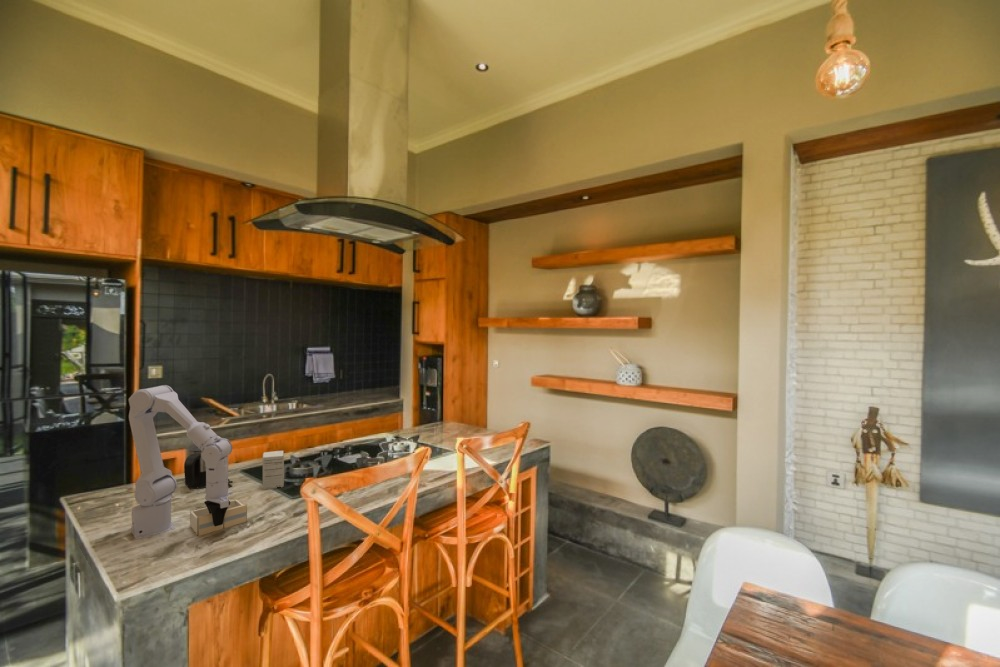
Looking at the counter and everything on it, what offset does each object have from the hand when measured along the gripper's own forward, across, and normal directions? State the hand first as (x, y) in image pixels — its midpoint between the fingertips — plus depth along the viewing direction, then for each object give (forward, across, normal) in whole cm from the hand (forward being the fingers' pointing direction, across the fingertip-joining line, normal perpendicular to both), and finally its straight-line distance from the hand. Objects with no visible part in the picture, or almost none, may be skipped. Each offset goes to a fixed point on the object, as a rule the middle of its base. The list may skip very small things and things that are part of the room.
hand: (217, 524), depth 135 cm
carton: (+2, +5, -2) cm, 5 cm away
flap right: (+2, 0, -5) cm, 5 cm away
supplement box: (+2, +27, -26) cm, 38 cm away
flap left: (+2, 0, +2) cm, 3 cm away
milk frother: (+2, +44, -10) cm, 45 cm away
